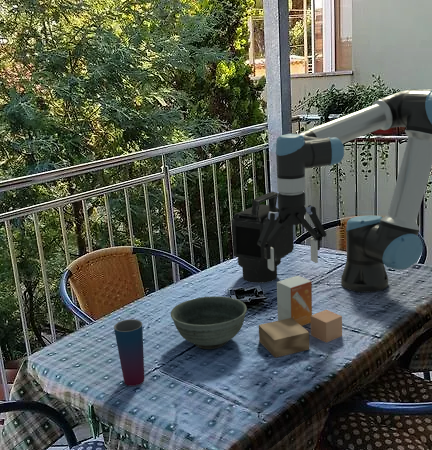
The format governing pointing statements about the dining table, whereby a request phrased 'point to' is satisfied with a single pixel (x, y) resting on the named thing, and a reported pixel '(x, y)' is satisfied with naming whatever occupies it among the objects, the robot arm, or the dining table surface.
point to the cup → (130, 350)
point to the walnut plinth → (283, 337)
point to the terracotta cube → (326, 326)
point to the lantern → (249, 235)
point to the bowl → (209, 320)
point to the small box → (295, 299)
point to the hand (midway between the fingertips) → (292, 265)
